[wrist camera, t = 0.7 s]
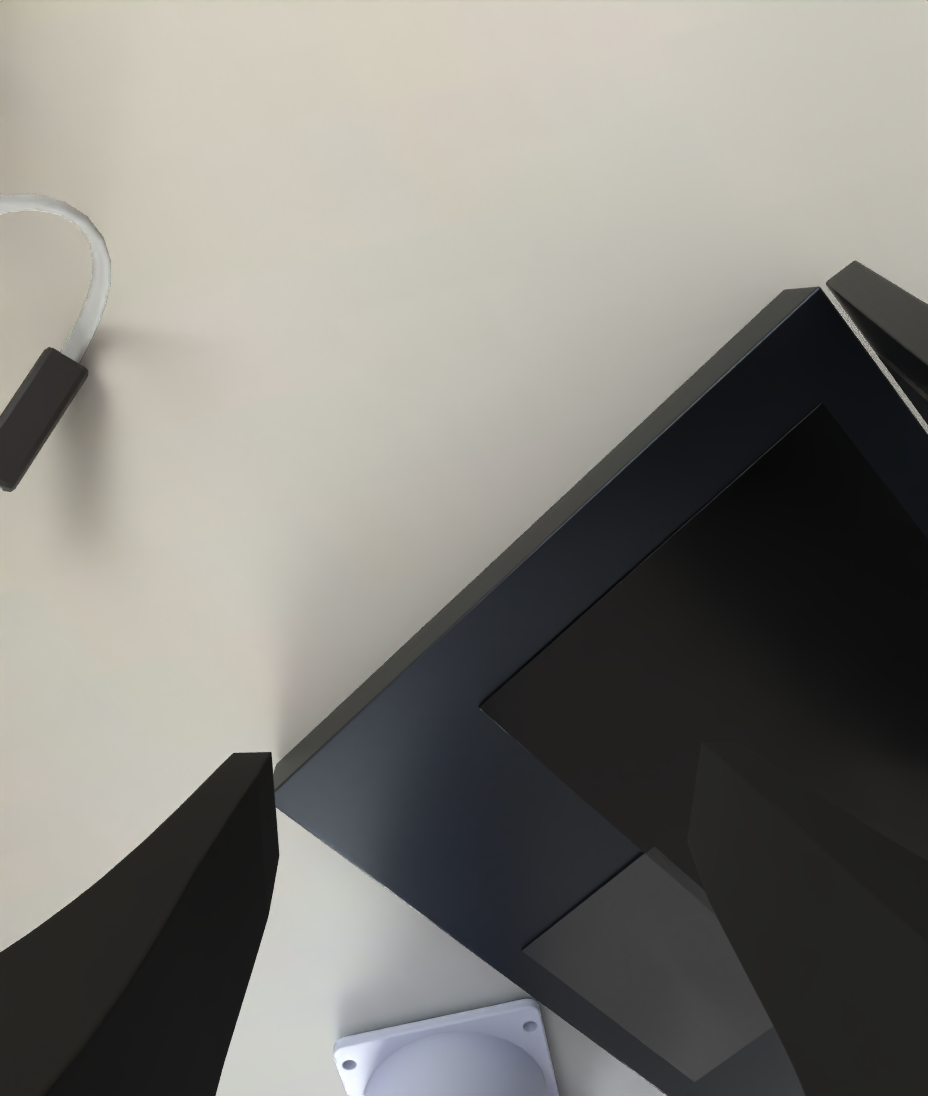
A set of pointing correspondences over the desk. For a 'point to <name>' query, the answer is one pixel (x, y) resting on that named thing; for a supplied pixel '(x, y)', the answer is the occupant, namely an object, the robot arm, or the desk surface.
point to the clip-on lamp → (51, 354)
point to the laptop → (655, 697)
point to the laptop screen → (888, 326)
